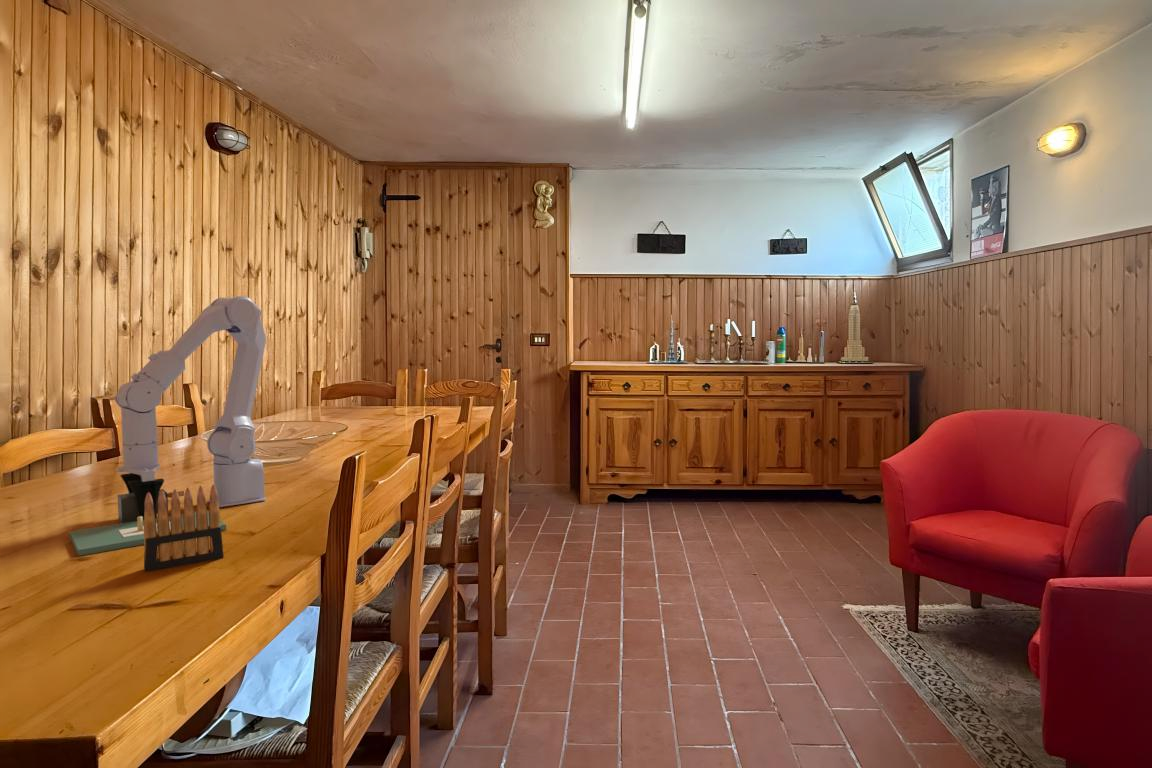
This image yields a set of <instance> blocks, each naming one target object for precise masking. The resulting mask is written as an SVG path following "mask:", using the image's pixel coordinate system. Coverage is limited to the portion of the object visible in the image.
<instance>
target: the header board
mask: <svg viewBox="0 0 1152 768" xmlns="http://www.w3.org/2000/svg"><path fill="white" fill-rule="evenodd" d="M194 513H195V528H196V511H194ZM207 513H208V526H209V509H207ZM181 514H182V524H183V513H181ZM157 516H158V514H157ZM220 522H221V532H224V531H227V524H226V523H225V522H223V521H222V520H221V519H220ZM169 524H170V515H169ZM156 529H157V518H156ZM170 532H171V529H170ZM69 538H70V541H71V543H72V545H73V547H74V550H75V551H76V554H77V555H78V557H81V556H87V555H92V554H98V553H103V552H108V551H109V552H111V551H114V550H120V549H125V548H131V547H136V546H142V545H144V520H143V517H142V516H140V517H137V521H133V522H127V523H120V522H119V523H115V524H109V525H103V526H101V525H100V526H95V527H90V528H88V527H87V528H84V529H83V528H82V529H77V530H70V531H69Z"/></svg>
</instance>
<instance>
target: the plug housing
mask: <svg viewBox="0 0 1152 768" xmlns="http://www.w3.org/2000/svg"><path fill="white" fill-rule="evenodd" d="M161 491H163V492H164V494H165V497H166V501H167V510H168V511H169V500H168V498H169V499H170V498H172V493H173V491H171V492H167V490H165V489H163V488H160V491H159V493H158V497H157V501H156V507H155V512H154V514H155V518H157V514H158V499H159V494H160V492H161ZM177 492H178V495H179V497H184V496H185V491H184V490H179V491H177ZM117 510H118V513H117V515H118V522H119V524H120V523H127V522H133V521H137V517H140V514H139V511H138V506H137V502H136V498H135V495H134V493H129V492H128V493H123V494H117ZM143 520H144V517H143Z"/></svg>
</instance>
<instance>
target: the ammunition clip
mask: <svg viewBox="0 0 1152 768" xmlns="http://www.w3.org/2000/svg"><path fill="white" fill-rule="evenodd" d="M172 492H173V493H172V497H171V500H170V515H169V509H168V510H167V501H166V497H165V494H164V492H163V491H161V492H160V494H159V499H158V516H157V529H156V518H155V514H154V505H153V500H152V497H151V494H150V493H149V492H148V493H147V495H146V498H145V511H144V546H143V547H144V548H143V549H144V553H143V554H144V555H143V557H144V558H143V559H144V561H143V565H144V566H143V569H144V572H146V573H149V572H153V571H154V572H155V571H159V570H160V571H161V570H164V569H170V568H177V567H181V566H186V565H193V564H197V563H203V562H208V561H216V560H219V559H223V558H224V548H223V546H224V545H223V535H222V531H221V522H220V520H221V510H220V507H219V503H218V495H217V490H216V487H215V485H214V483H213V484H212V485H211V487H210V491H209V499H210V501H209V507H208V509H207V501H206V494H205V491H204V488H203V487H202V486H201V485H200V486H199V487H198V490H197V495H196V511H195V510H194V503H193V495H192V492H191V489H190V487H186V489H185V491H184V496H183V512H182V509H181V502H180V496H179V495H178V492H179V491H177V489H176V488H174V489H173V491H172ZM207 510H208V511H209V526H208V513H207ZM194 512H196V528H195V513H194ZM182 514H183V524H182ZM169 516H170V524H169ZM170 529H171V532H170Z"/></svg>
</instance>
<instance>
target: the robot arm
mask: <svg viewBox="0 0 1152 768" xmlns="http://www.w3.org/2000/svg"><path fill="white" fill-rule="evenodd" d="M262 312H263V311H262V310H261V309H260V307H259V306H258V305H257V304H256V303H255V302H254V301H253V299H252V298H250V297H248V296H243V295H238V296H235V297H234V296H233V297H218V298H216V299H214V300H213V301H212V302H211V304H210V305H208V306H206V307H205V308H204V309H202V311H201V312H200V314H199V315H198V317H197V318H196V319H195V320H194V321H193V322H192V323H191V325H190V326H189V327H188V328H187V330H186V331H184V333H183V334H182V335H181V336H180V337H179V338H178V340H177V341H176V342H175V343H174V345H172V346H171V348H170V349H169V350H168V349H167V350H159V351H158V352H157V353H151V354H150V355H149V356H148V360H149V361H148V362H147V363H146V364H145V365H144V366H143V367H142V368H141V369H140V370H139V371H138V372H137V373H133V374H132V375H131V376H130V379H132V381H129V382H125V383H123V384H122V385H121V386H119V388H118V390H117V391H116V392H117V394H116V395H114V400H115V403H116V405H117V406H118V407H119V408H120V414H121V421H120V423H121V440H122V442H121V443H122V461H123V464H122V465H123V466H117V467H115V470H116V472H117V473H122V474H120V476H119V477H120V478H121V479H122V480H123V482H124V484H125V486H126V489H127V492H128V494H129V493H134V495H135V498H136V502H137V506H138V511H139V514H140V516H142V517H144V511H145V498H146V495H147V493H148V492H149V493H150V494H151V497H152V500H153V505H154V512H155V507H156V501H157V497H158V493H159V491H160V489H162V486H163V484H164V482H165V479H163V478H155V477H156V475H155V473H156V472H157V471H158V470H159V469H160V467H161V464H160V463H159V449H158V448H159V447H158V443H159V442H158V429H157V428H158V427H157V426H158V425H157V424H158V423H157V414H156V413H157V411H156V410H157V409H156V407H158V406H160V405H161V401H162V394H164V393H165V392H166V390H167V389H169V387H170V386H171V385H172V384H173V383H174V382H175V381H176V380H177V379H178V377H180V376H181V374H182V373H183V372H184V371H185V370H186V360H187V359H188V358H189V357H190V356H191V355H192V354H193V353H194V352H195V351H196V350H197V349H198V348H199V347H200V346H201V345H202V344H203V343H205V341H207V339H209V337H210V336H211V335H213V334H214V333H216V332H221V331H226V332H227V333H228V334H229V335H230V336H231V337H232V339H234V341H235V342H236V344H237V345H236V351H235V355H234V360H233V366H232V369H231V375H230V378H229V380H230V381H229V383H228V389H227V393H226V397H225V398H226V399H225V404H224V407H223V412H222V413H223V414H222V415H221V416H220V417H219V419H218V420H217V421H216V422H215V426H214V430H213V431H212V432H211V433H210V434H209V436H208V439H207V443H206V444H207V449H208V452H209V453H210V454H211V455H213V459H212V465H213V466H212V467H213V469H212V470H213V484H214V485H215V487H216V490H217V495H218V503H219V508H223V507H231V506H236V505H244V504H249V503H257V502H263V501H266V500H267V499H266V497H265V496H266V494H265V493H266V492H265V472H264V471H265V470H264V465H263V462H262V460H261V459H260V458H252V456H253V455H254V453H255V451H256V447H257V444H256V443H257V442H256V439H255V432H256V431H255V430H256V428H255V425H254V423H253V422H252V419H251V418H252V411H253V407H254V402H255V401H254V400H255V398H256V393H257V387H258V382H259V377H260V372H261V368H262V363H263V359H264V352H265V347H266V342H267V337H266V332H265V329H264V326H263V323H262V319H261V317H262ZM123 472H124V473H123ZM208 501H209V502H210V498H208Z"/></svg>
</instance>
